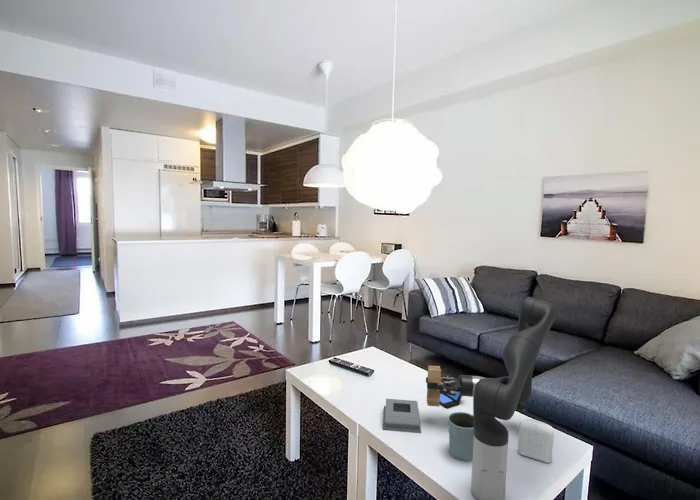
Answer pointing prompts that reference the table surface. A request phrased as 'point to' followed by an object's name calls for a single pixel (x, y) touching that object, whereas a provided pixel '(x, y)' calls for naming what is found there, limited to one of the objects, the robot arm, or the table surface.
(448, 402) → the handheld game console
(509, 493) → the table surface
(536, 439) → the photo printer
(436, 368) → the oak pin
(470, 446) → the teal cup
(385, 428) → the metal socket
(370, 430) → the table surface
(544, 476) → the table surface
